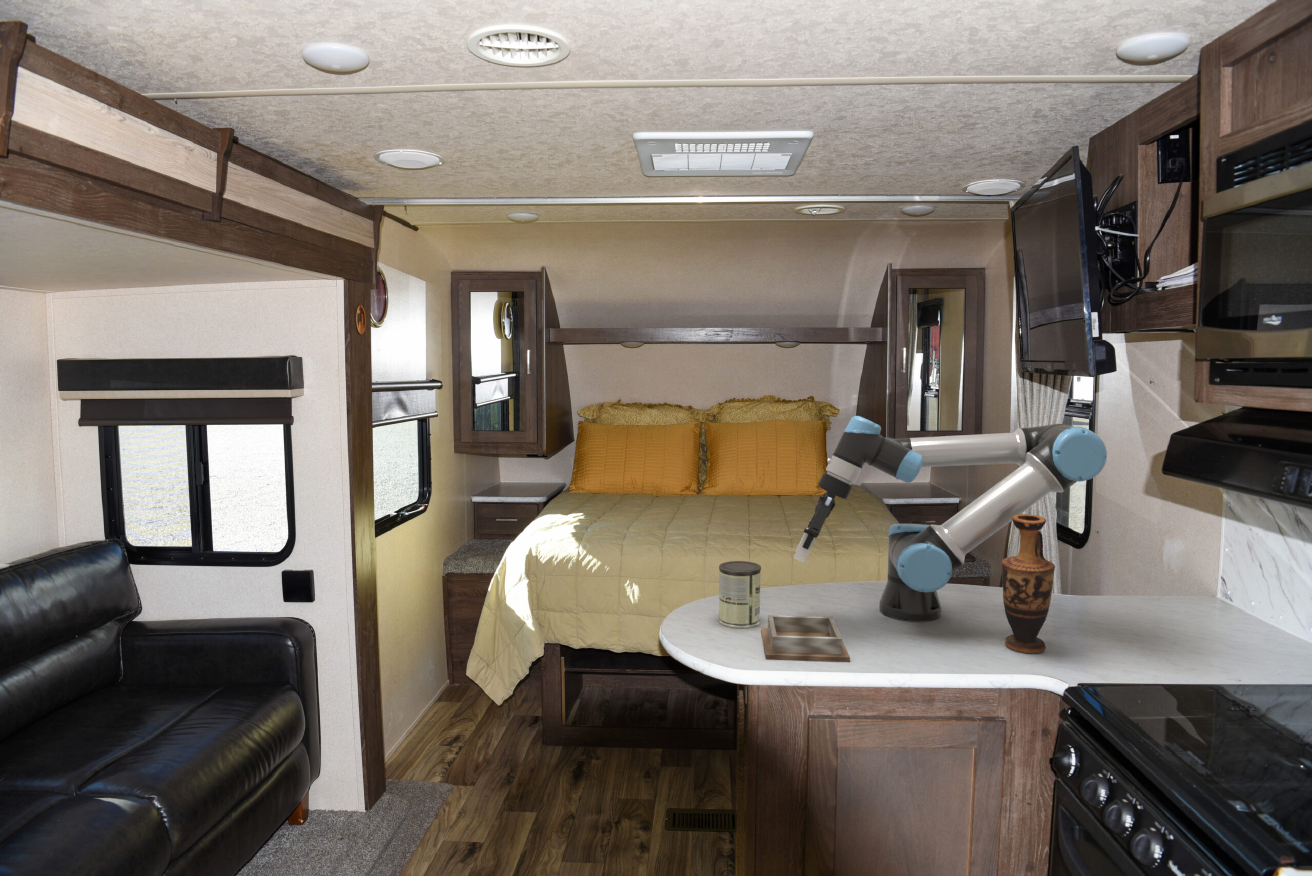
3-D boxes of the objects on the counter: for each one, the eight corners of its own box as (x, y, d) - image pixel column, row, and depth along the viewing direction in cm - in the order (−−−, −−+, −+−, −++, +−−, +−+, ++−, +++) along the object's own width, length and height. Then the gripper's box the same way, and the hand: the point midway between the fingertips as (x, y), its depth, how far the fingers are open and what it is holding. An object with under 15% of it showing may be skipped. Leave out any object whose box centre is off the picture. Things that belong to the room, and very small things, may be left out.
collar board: (837, 633, 192) (838, 615, 192) (849, 661, 174) (850, 641, 174) (761, 631, 194) (761, 613, 193) (765, 659, 176) (766, 639, 175)
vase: (1032, 660, 176) (1037, 527, 171) (988, 644, 185) (992, 516, 180) (1061, 648, 182) (1067, 518, 177) (1018, 632, 191) (1022, 509, 186)
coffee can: (718, 614, 207) (719, 560, 205) (759, 615, 206) (760, 561, 204) (717, 627, 196) (718, 570, 195) (760, 629, 195) (761, 572, 194)
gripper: (824, 470, 207) (787, 544, 209) (824, 472, 183) (782, 556, 184) (851, 483, 206) (814, 557, 207) (855, 487, 181) (813, 571, 183)
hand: (799, 557), depth 196 cm, fingers open, 13 cm apart
